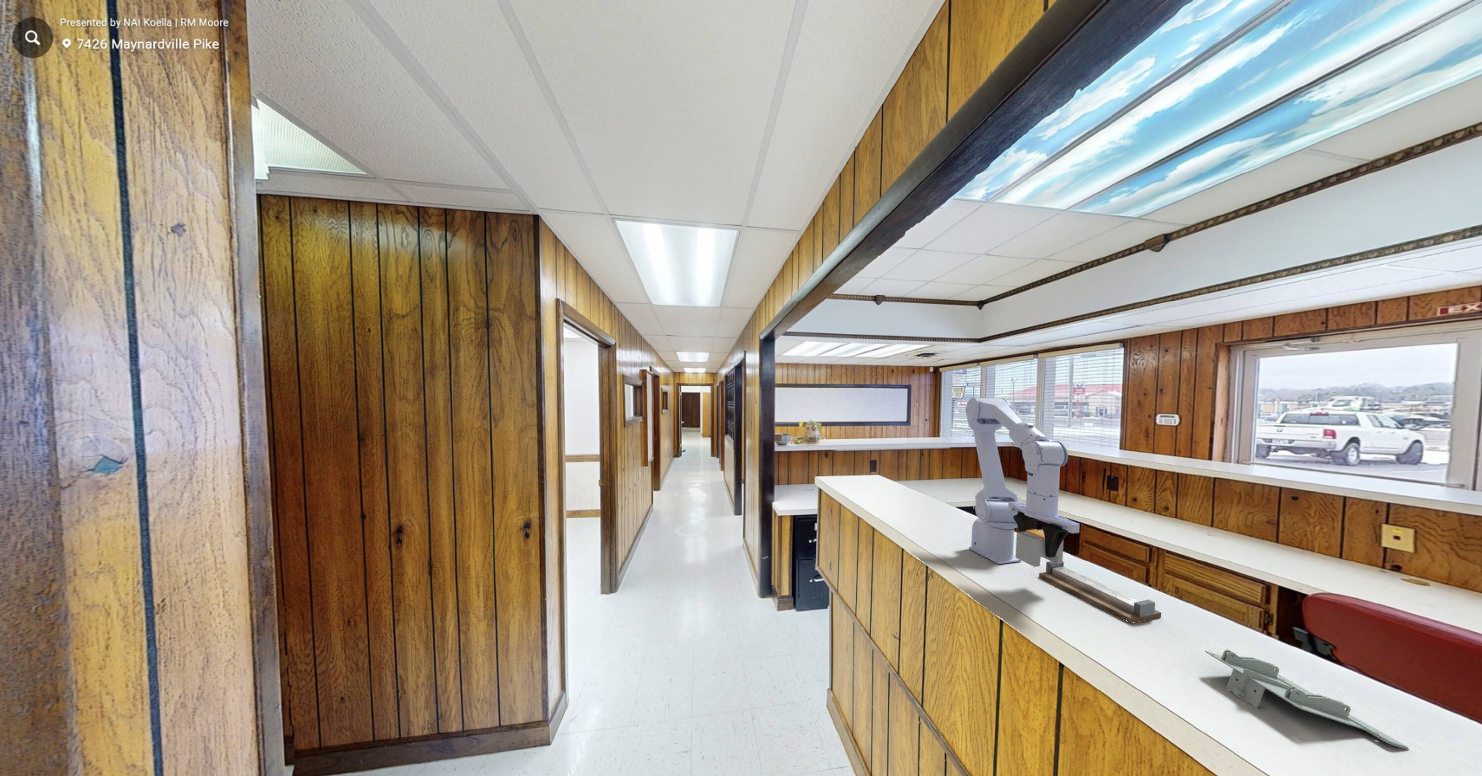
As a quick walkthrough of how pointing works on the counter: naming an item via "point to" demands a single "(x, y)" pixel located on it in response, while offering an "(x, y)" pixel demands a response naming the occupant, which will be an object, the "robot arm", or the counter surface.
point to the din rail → (1102, 590)
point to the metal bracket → (1287, 692)
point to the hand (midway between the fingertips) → (1039, 551)
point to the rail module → (1034, 548)
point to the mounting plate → (1096, 599)
